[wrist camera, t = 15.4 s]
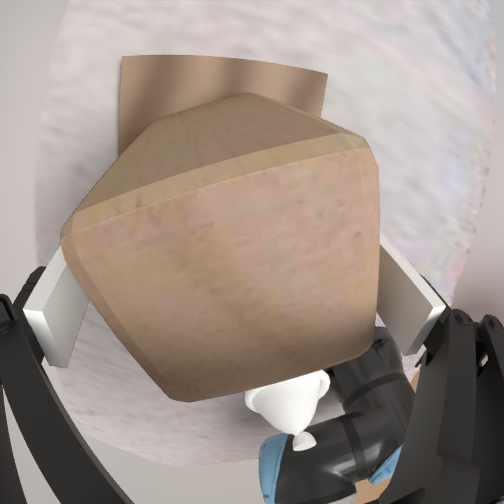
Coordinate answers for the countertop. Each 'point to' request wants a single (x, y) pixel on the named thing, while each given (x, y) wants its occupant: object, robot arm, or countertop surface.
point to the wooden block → (233, 247)
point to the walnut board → (205, 87)
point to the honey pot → (290, 405)
